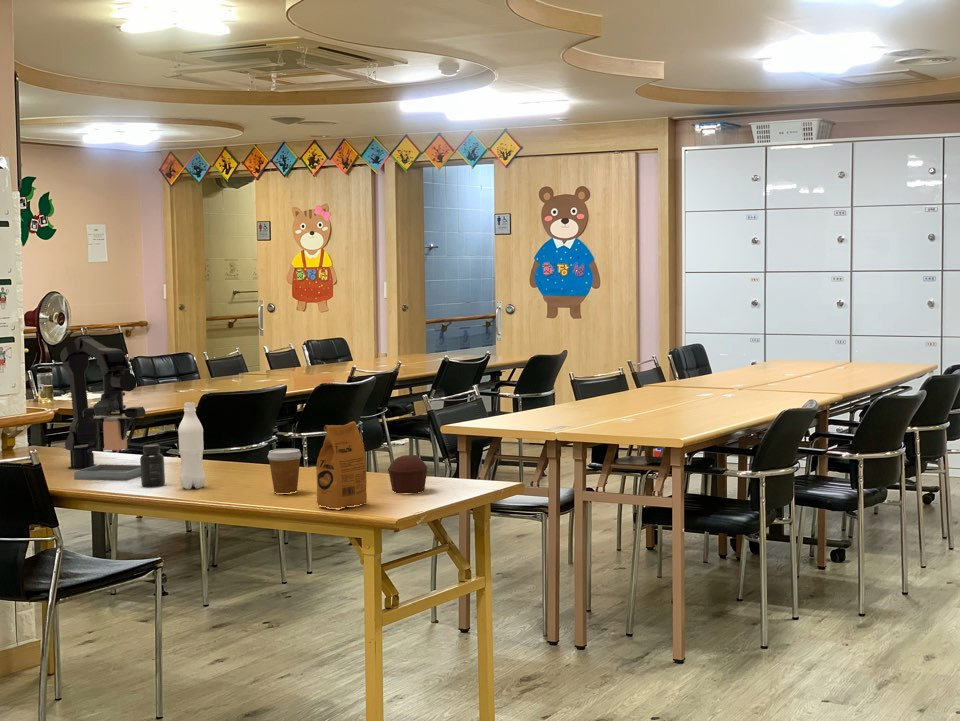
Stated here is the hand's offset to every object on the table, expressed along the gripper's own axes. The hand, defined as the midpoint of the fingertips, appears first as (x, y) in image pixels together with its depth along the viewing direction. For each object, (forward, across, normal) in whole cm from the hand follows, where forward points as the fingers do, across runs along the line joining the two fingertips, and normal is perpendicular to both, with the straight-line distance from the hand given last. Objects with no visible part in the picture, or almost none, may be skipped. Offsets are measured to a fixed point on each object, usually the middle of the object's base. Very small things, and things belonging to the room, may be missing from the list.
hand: (115, 439), depth 370 cm
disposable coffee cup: (+12, +66, -23) cm, 71 cm away
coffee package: (+12, +89, -40) cm, 98 cm away
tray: (+11, 0, -2) cm, 11 cm away
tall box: (+3, 0, 0) cm, 3 cm away
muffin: (+12, +100, -17) cm, 102 cm away
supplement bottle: (+12, +21, -16) cm, 29 cm away
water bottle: (+12, +35, -18) cm, 41 cm away
